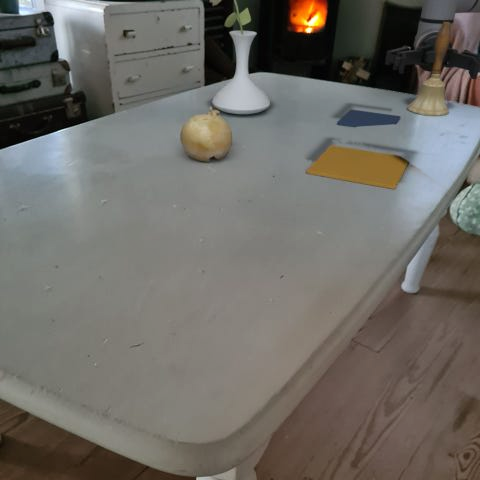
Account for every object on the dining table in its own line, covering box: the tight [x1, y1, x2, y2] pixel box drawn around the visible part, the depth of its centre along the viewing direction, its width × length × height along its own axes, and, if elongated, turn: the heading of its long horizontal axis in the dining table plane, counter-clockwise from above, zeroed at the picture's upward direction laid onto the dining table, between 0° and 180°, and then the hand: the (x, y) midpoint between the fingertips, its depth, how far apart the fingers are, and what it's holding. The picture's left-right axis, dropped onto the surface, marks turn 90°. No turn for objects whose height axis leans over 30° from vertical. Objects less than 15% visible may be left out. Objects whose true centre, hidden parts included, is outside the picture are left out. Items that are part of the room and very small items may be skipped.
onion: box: [179, 105, 233, 163], centre depth 79 cm, size 8×8×7 cm
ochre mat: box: [306, 144, 410, 190], centre depth 79 cm, size 13×13×1 cm
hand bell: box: [406, 22, 452, 117], centre depth 102 cm, size 8×8×16 cm
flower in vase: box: [209, 0, 271, 115], centre depth 95 cm, size 13×11×25 cm
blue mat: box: [336, 108, 401, 128], centre depth 99 cm, size 10×10×1 cm
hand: (438, 68), depth 99 cm, fingers open, 13 cm apart
